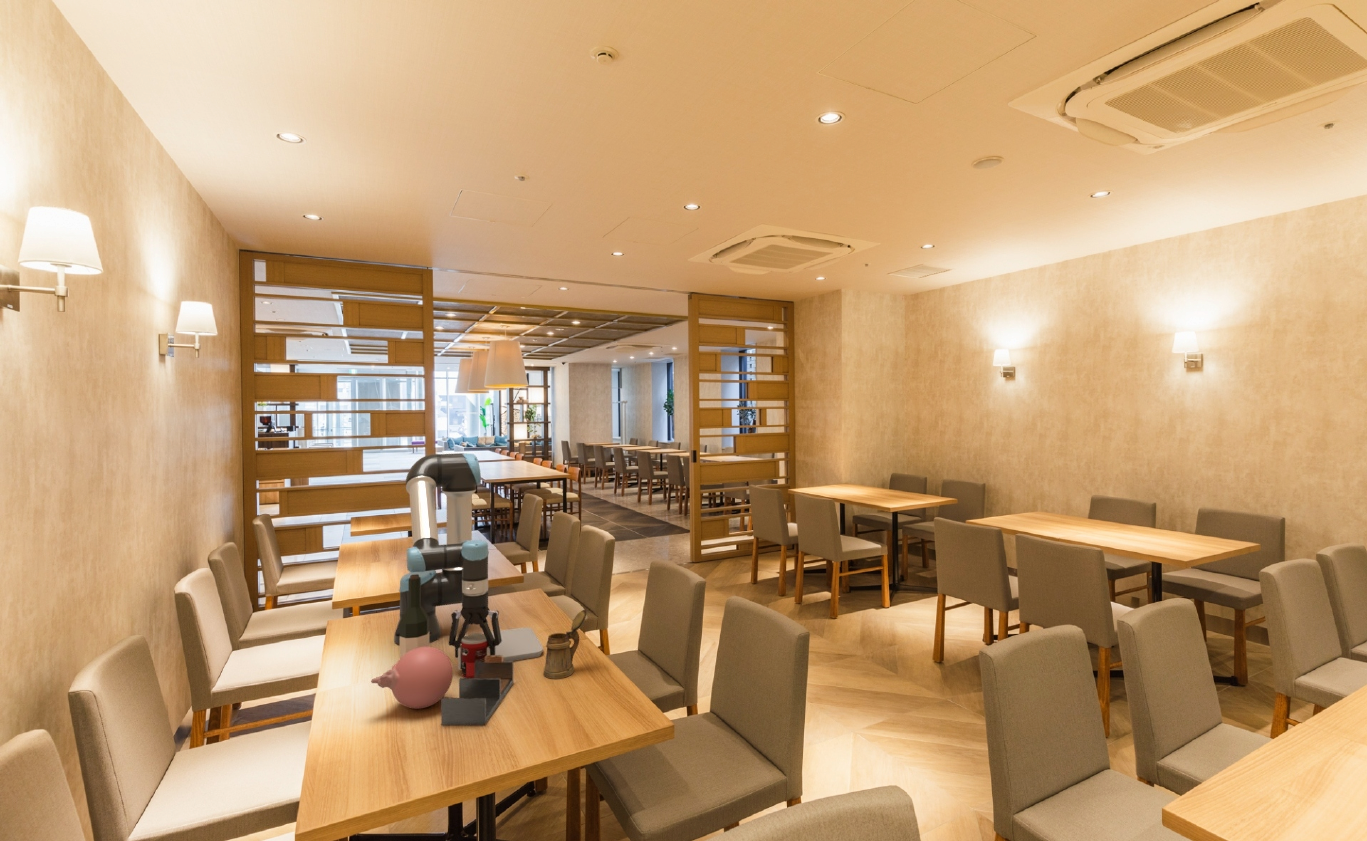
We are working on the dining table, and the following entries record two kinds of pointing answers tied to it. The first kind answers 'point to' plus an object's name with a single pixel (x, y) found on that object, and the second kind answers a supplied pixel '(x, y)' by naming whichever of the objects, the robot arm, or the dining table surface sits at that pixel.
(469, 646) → the canned food
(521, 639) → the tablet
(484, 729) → the dining table surface
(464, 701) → the rack
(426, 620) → the wine bottle
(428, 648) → the balloon
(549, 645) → the wooden mug
